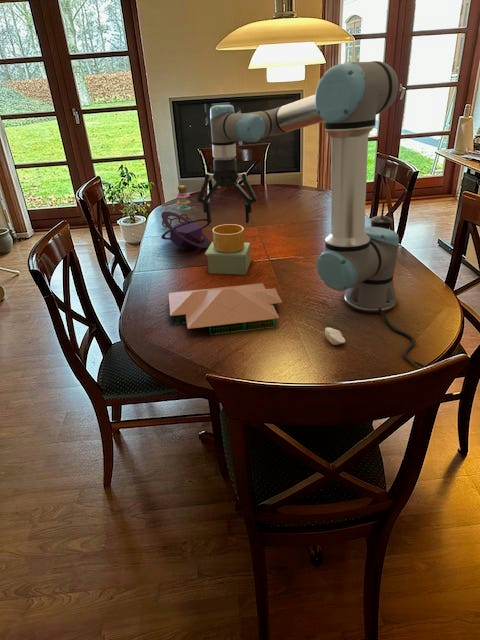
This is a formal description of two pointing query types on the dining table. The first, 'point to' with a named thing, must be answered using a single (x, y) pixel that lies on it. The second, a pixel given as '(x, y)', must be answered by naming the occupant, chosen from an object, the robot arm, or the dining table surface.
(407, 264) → the dining table surface
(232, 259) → the chest
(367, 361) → the dining table surface
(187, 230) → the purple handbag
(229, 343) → the dining table surface
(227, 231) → the bowl
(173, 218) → the glasses
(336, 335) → the white rock
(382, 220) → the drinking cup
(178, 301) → the house
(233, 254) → the chest lid
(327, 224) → the dining table surface
